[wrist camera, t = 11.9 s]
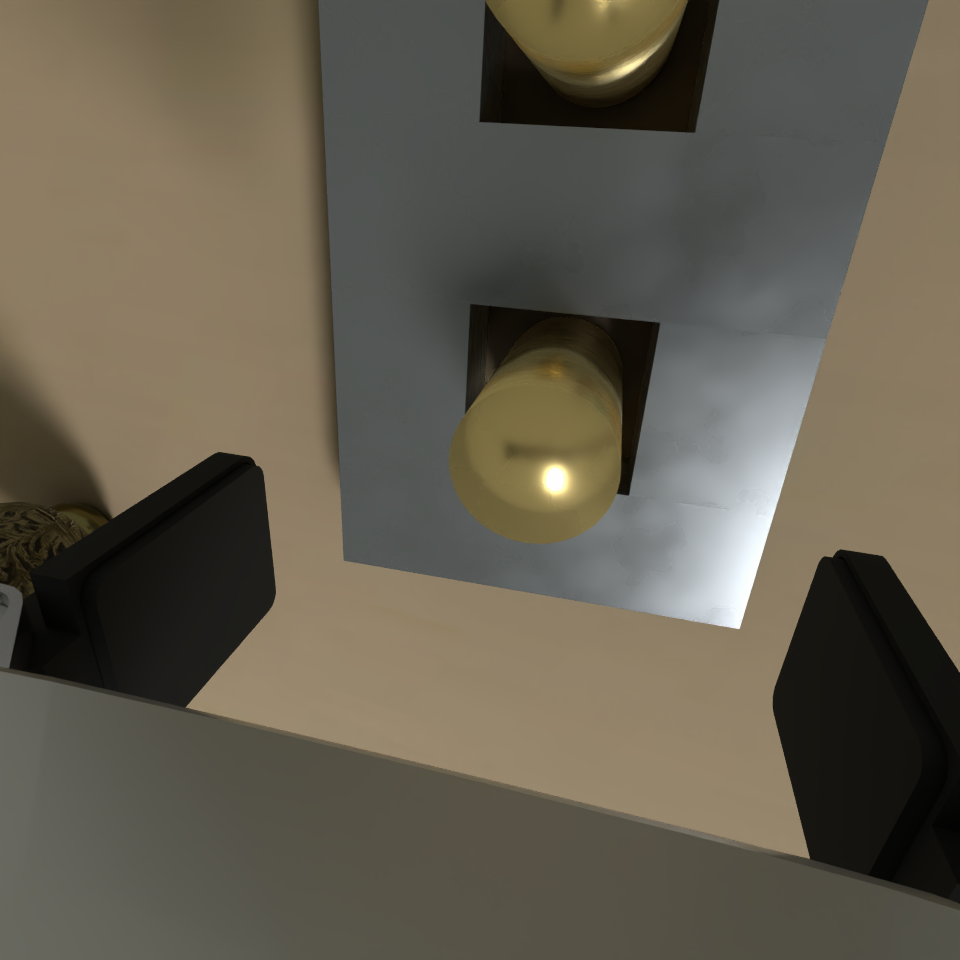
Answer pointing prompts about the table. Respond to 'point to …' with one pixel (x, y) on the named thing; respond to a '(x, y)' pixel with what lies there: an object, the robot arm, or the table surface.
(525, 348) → the brass cylinder
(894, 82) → the jig
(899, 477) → the table surface
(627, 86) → the seated bushing
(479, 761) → the table surface
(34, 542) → the cup
